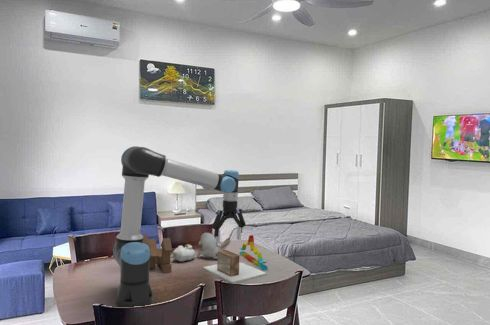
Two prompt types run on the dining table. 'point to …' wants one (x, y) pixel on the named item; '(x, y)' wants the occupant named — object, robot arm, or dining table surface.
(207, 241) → the toy
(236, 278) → the mat
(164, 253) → the building blocks
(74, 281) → the dining table surface
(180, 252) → the cat figurine
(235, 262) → the slab
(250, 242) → the multicoloured triangular frame
